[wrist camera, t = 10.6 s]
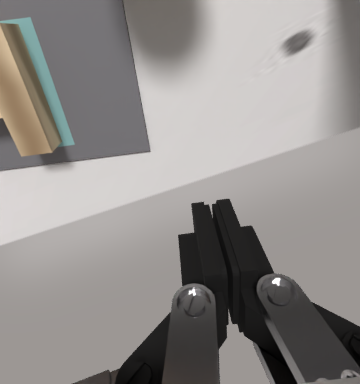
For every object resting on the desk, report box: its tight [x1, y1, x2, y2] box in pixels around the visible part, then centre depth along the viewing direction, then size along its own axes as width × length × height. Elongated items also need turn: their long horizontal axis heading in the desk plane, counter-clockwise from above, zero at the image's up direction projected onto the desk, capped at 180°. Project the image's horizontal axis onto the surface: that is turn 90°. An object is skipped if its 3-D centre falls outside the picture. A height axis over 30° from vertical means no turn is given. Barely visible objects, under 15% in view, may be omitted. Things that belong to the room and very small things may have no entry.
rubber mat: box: [0, 0, 150, 170], centre depth 33 cm, size 28×20×1 cm
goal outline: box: [0, 17, 75, 147], centre depth 33 cm, size 13×15×1 cm
